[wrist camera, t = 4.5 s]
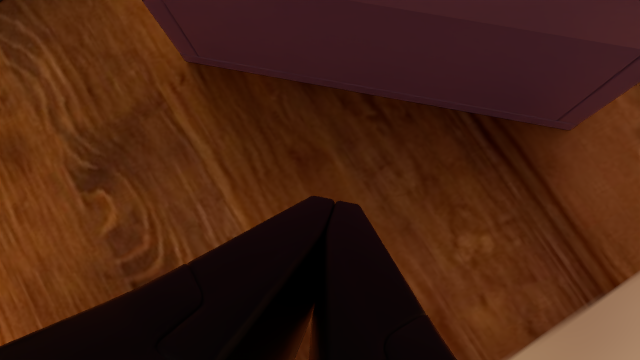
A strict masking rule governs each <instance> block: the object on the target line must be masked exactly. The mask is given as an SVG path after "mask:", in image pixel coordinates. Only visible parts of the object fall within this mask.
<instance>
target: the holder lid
mask: <svg viewBox="0 0 640 360" xmlns="http://www.w3.org/2000/svg"><path fill="white" fill-rule="evenodd" d="M350 1H356V2H362V3H368V4H374V5H380V6H386V7H392V8H398V9H404V10H410V11H416V12H422V13H428V14H434V15H440V16H446V17H452V18H458V19H464V20H470V21H476V22H482V23H488V24H493V25H499V26H505V27H511V28H517V29H523V30H529V31H535V32H541V33H547V34H553V35H559V36H565V37H571V38H577V39H583V40H589V41H595V42H601V43H607V44H613V45H619V46H625V47H631V48H637V49H640V0H350Z"/></svg>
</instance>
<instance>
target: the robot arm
mask: <svg viewBox="0 0 640 360" xmlns="http://www.w3.org/2000/svg"><path fill="white" fill-rule="evenodd" d="M313 308H314V310H313ZM312 312H313V317H312V325H311V337H310V349H309V360H457V359H456V358H455V356H454V355H453V354H452V352H451V351H450V349H449V348H448V346H447V345H446V343H445V342H444V340H443V339H442V337H441V336H440V334H439V333H438V331H437V330H436V328H435V326H434V325H433V323H432V322H431V320H430V318H429V317H428V315H426V314H425V312H424V310H423V308H422V307H421V305H420V303H419V302H418V300H417V298H416V297H415V295H414V294H413V292H412V290H411V289H410V287H409V285H408V284H407V282H406V280H405V279H404V277H403V276H402V274H401V272H400V271H399V269H398V267H397V266H396V264H395V263H394V261H393V259H392V258H391V256H390V254H389V253H388V251H387V249H386V248H385V246H384V245H383V243H382V241H381V240H380V238H379V236H378V235H377V233H376V231H375V230H374V228H373V227H372V225H371V223H370V222H369V220H368V218H367V217H366V215H365V214H364V212H363V210H362V209H361V207H360V206H359V205H358V204H354V203H348V202H343V201H337V202H336V203H335V202H334V201H333V200H332V199H328V198H323V197H318V196H311V197H309V198H307V199H305V200H303V201H301V202H299V203H298V204H296V205H294V206H292V207H290V208H288V209H287V210H285V211H283V212H281V213H279V214H277V215H275V216H274V217H272V218H270V219H268V220H266V221H264V222H263V223H261V224H259V225H257V226H255V227H253V228H252V229H250V230H248V231H246V232H244V233H242V234H240V235H239V236H237V237H235V238H233V239H231V240H229V241H228V242H226V243H224V244H222V245H220V246H218V247H216V248H215V249H213V250H211V251H209V252H207V253H205V254H204V255H202V256H200V257H198V258H196V259H194V260H192V261H191V262H189V263H188V264H183V265H182V266H180V267H178V268H176V269H174V270H172V271H170V272H169V273H167V274H165V275H163V276H161V277H159V278H157V279H155V280H153V281H151V282H149V283H147V284H145V285H143V286H141V287H139V288H137V289H134V290H132V291H130V292H127V293H125V294H123V295H121V296H118V297H116V298H114V299H112V300H109V301H107V302H105V303H102V304H100V305H98V306H95V307H93V308H90V309H88V310H86V311H83V312H81V313H78V314H76V315H74V316H71V317H69V318H66V319H64V320H62V321H59V322H57V323H54V324H52V325H50V326H47V327H45V328H43V329H40V330H38V331H35V332H33V333H31V334H28V335H26V336H23V337H21V338H19V339H16V340H14V341H11V342H9V343H7V344H4V345H2V346H0V360H294V359H295V356H296V354H297V351H298V349H299V347H300V344H301V342H302V339H303V337H304V334H305V332H306V329H307V326H308V324H309V321H310V318H311V315H312Z"/></svg>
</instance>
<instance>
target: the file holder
mask: <svg viewBox="0 0 640 360" xmlns="http://www.w3.org/2000/svg"><path fill="white" fill-rule="evenodd" d="M142 1H143V3H144V4H145V5H146V7H147V8H148V10H149V11H150V12H151V14H152V15H153V16H154V18H155V19H156V21H157V22H158V23H159V25H160V26H161V28H162V29H163V30H164V32H165V33H166V34H167V36H168V37H169V39H170V40H171V41H172V43H173V44H174V46H175V47H176V48H177V50H178V51H179V52H180V54H181V56H182V57H183V59H184V60H185V61H188V62H193V63H199V64H204V65H210V66H215V67H221V68H226V69H232V70H238V71H243V72H249V73H254V74H260V75H265V76H271V77H276V78H282V79H288V80H293V81H299V82H304V83H310V84H315V85H321V86H326V87H332V88H338V89H343V90H349V91H354V92H360V93H365V94H371V95H376V96H382V97H387V98H393V99H399V100H404V101H410V102H415V103H421V104H426V105H432V106H437V107H443V108H449V109H454V110H460V111H465V112H471V113H476V114H482V115H487V116H493V117H499V118H504V119H510V120H515V121H521V122H526V123H532V124H537V125H543V126H549V127H554V128H560V129H565V130H571V129H573V128H574V127H576V126H577V125H578V124H579V123H581V122H582V121H584V120H585V119H587V118H588V117H590V116H591V115H592V114H594V113H595V112H597V111H598V110H600V109H601V108H603V107H604V106H606V105H607V104H608V103H610V102H611V101H613V100H614V99H616V98H617V97H619V96H620V95H621V94H623V93H624V92H626V91H627V90H629V89H630V88H632V87H633V86H634V85H636V84H637V83H639V82H640V49H637V48H631V47H625V46H619V45H613V44H607V43H601V42H595V41H589V40H583V39H577V38H571V37H565V36H559V35H553V34H547V33H541V32H535V31H529V30H523V29H517V28H511V27H505V26H499V25H493V24H488V23H482V22H476V21H470V20H464V19H458V18H452V17H446V16H440V15H434V14H428V13H422V12H416V11H410V10H404V9H398V8H392V7H386V6H380V5H374V4H368V3H362V2H356V1H350V0H142Z"/></svg>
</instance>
